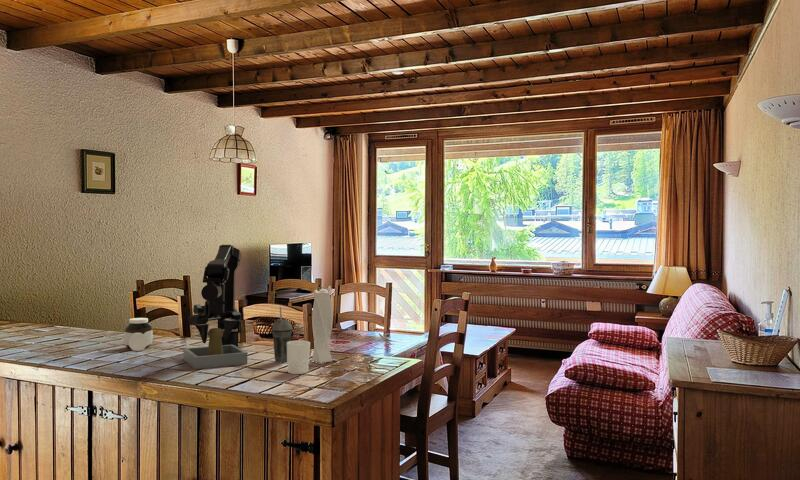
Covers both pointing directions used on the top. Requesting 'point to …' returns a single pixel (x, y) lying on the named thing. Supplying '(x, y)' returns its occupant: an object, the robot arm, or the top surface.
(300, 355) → the white cup
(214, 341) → the olive gourd-shaped piece
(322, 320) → the grey tall twisted column
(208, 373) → the top surface
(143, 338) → the spread jar
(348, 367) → the top surface
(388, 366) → the top surface
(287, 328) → the beverage cup
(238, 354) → the tray
